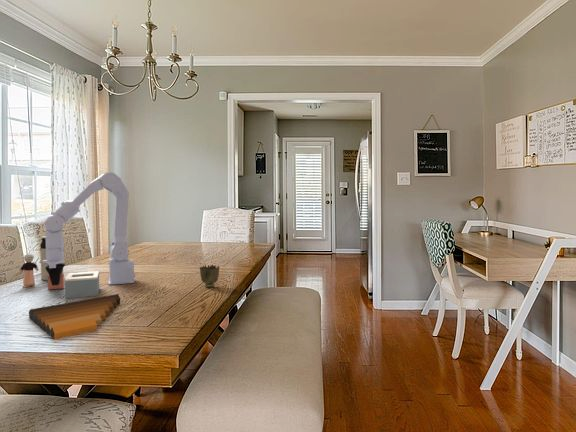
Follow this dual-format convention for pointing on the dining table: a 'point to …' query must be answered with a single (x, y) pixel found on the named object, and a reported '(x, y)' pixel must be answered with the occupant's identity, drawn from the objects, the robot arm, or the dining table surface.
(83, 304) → the pan flute
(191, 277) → the dining table surface
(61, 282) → the pink rectangular block
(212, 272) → the cup
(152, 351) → the dining table surface
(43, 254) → the travel mug
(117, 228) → the robot arm
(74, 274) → the coin box
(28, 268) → the grandmother figurine
